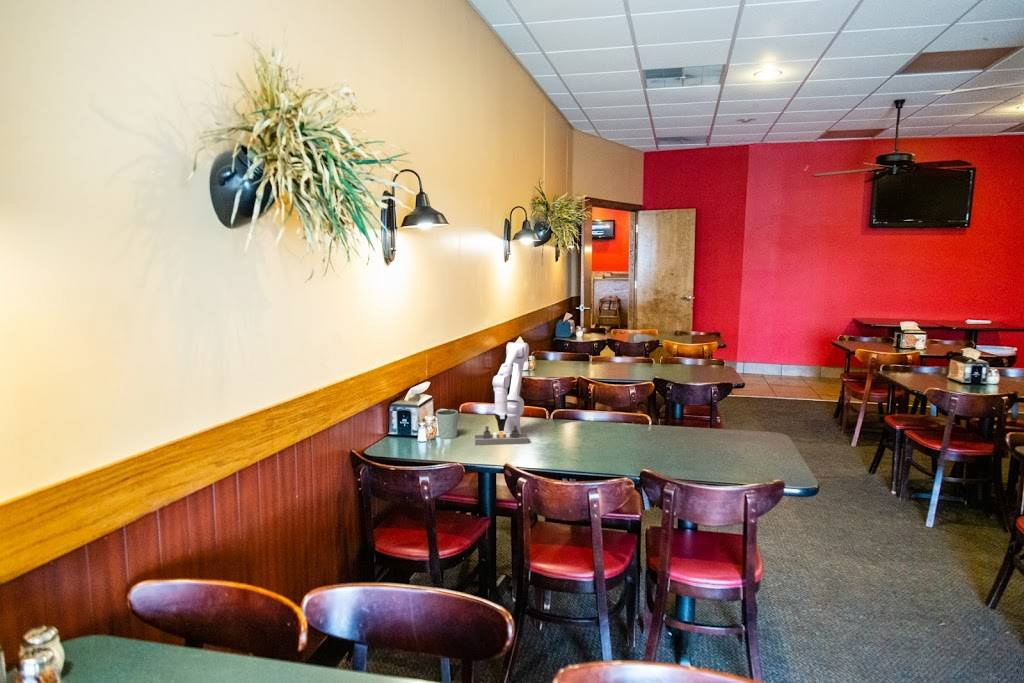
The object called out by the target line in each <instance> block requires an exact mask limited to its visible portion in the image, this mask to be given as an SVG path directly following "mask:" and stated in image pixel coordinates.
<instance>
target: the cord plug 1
mask: <svg viewBox="0 0 1024 683" xmlns="http://www.w3.org/2000/svg"><path fill="white" fill-rule="evenodd" d="M489 427H490V426H487V425H486V426H485V431H483V435H484V438H491V435H492V434H491V431H489Z"/></svg>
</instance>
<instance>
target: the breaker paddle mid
mask: <svg viewBox="0 0 1024 683" xmlns="http://www.w3.org/2000/svg"><path fill="white" fill-rule="evenodd" d="M498 434H499V437H500V438H503V434H504V431H499V433H498Z"/></svg>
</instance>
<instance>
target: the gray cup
mask: <svg viewBox="0 0 1024 683" xmlns="http://www.w3.org/2000/svg"><path fill="white" fill-rule="evenodd" d="M435 415H436V420H437V433H438V434H437V435H438V438H439V439H440V440H454V439H456V438H457V437H458V419H459V418H458V417H459V411H458V410H457V409H441V410H437V411H436V414H435Z"/></svg>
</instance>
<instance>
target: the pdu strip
mask: <svg viewBox="0 0 1024 683" xmlns="http://www.w3.org/2000/svg"><path fill="white" fill-rule="evenodd" d="M525 444H526V445H527V444H529V436H528V435H527V433H521V434H519V437H512V434H510V437H507V438H506V434H504V433H503V438H500V437H499V433H497V438H493V433H492V434H491V438H484V434H474V445H475V446H493V445H525Z"/></svg>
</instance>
